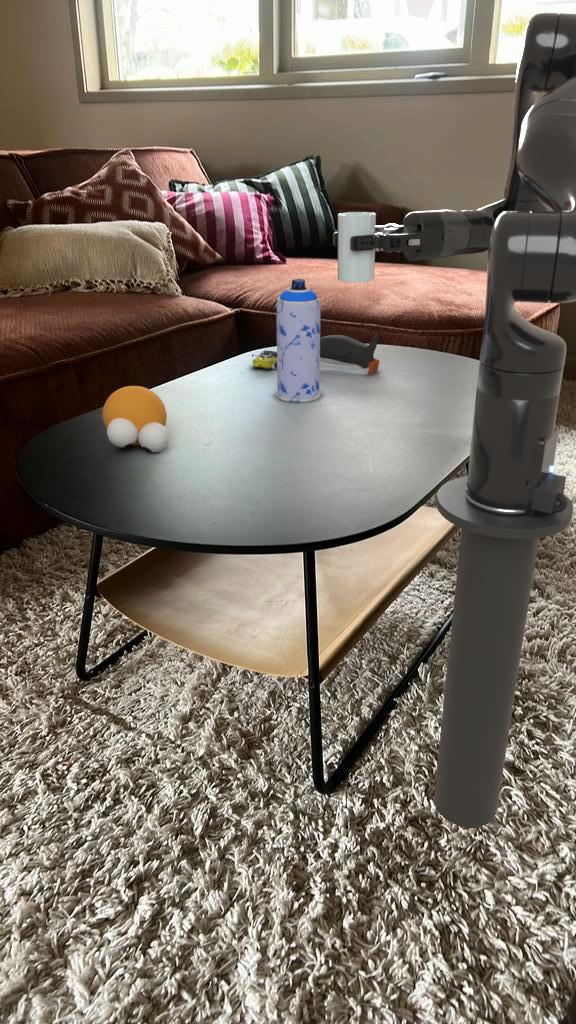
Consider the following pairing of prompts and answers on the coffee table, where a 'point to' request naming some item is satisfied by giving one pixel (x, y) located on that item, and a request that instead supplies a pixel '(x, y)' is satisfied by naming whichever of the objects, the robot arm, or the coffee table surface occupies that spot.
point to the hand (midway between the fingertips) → (342, 241)
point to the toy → (136, 419)
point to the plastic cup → (355, 262)
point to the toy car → (265, 360)
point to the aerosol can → (298, 344)
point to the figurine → (348, 352)
